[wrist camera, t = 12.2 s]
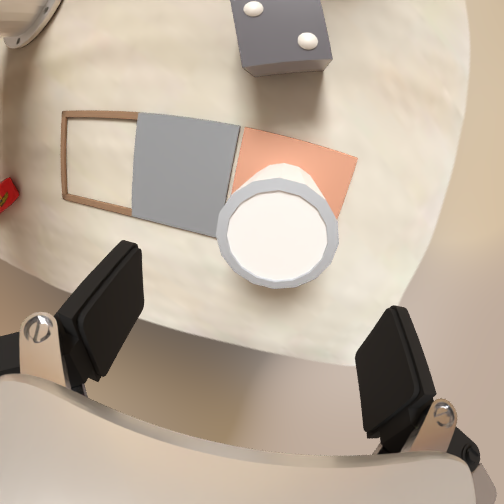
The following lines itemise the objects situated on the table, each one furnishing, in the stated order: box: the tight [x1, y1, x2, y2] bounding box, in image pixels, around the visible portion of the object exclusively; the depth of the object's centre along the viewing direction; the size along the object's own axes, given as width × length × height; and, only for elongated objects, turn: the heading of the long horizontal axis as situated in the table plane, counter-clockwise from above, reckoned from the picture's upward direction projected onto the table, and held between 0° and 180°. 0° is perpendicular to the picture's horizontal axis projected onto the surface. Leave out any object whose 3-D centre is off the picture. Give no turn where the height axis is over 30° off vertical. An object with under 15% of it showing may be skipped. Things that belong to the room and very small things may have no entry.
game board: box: [61, 111, 358, 238], centre depth 21 cm, size 10×27×1 cm, turn 78°
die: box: [230, 0, 333, 77], centre depth 13 cm, size 5×5×5 cm
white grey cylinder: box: [216, 163, 339, 289], centre depth 18 cm, size 7×7×7 cm
